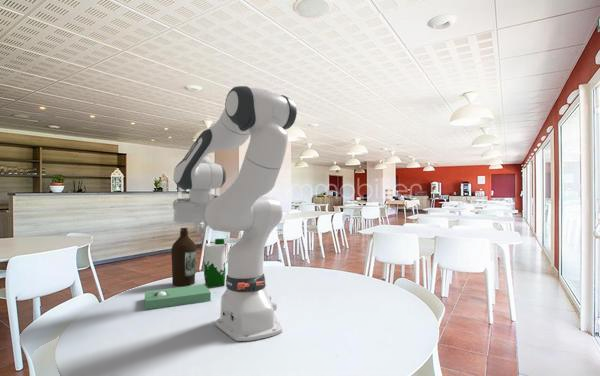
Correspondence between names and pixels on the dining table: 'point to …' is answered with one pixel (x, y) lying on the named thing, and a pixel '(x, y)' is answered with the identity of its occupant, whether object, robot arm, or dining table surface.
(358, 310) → the dining table surface
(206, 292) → the putting mat
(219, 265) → the milk carton
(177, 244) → the brown cylinder
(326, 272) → the dining table surface
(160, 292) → the golf ball
